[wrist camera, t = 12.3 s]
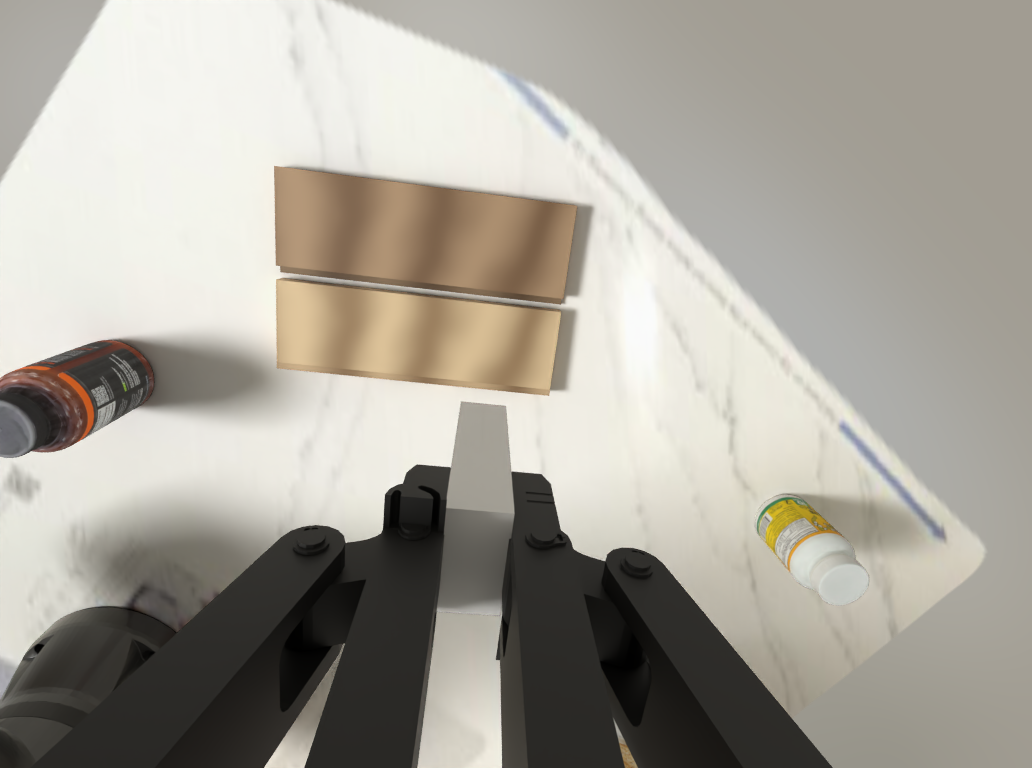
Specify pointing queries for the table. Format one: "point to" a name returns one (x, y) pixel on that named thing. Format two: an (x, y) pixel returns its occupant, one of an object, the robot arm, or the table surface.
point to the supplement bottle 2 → (811, 549)
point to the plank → (414, 337)
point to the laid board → (421, 236)
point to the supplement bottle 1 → (70, 396)
